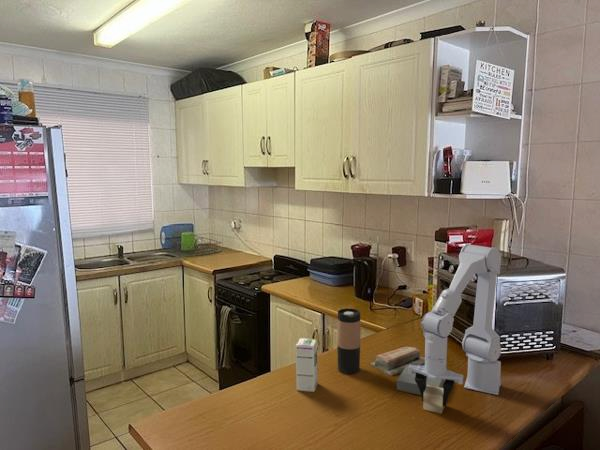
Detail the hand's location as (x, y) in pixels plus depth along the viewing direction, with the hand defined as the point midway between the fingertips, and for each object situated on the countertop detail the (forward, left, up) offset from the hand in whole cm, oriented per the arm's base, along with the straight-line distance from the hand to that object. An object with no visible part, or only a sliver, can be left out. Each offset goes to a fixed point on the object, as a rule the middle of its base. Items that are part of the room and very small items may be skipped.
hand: (434, 402), depth 121 cm
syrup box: (+37, +6, -2) cm, 38 cm away
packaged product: (+16, -23, -2) cm, 28 cm away
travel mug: (+30, -11, -2) cm, 32 cm away
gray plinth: (+6, -11, -1) cm, 13 cm away
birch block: (0, 0, -2) cm, 2 cm away
